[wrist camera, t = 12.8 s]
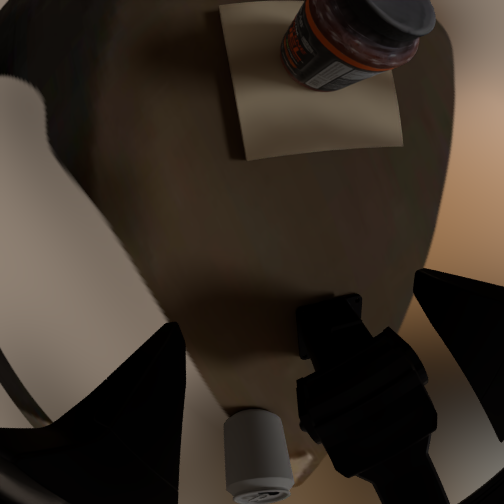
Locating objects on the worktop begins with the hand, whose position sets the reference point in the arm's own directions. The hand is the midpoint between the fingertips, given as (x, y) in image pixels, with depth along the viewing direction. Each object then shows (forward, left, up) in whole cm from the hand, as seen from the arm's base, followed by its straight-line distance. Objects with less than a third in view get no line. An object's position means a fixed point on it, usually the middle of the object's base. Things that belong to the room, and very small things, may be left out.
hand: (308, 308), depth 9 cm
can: (-26, +5, -13) cm, 30 cm away
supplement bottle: (+12, -6, -12) cm, 18 cm away
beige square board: (+11, -6, -13) cm, 18 cm away
